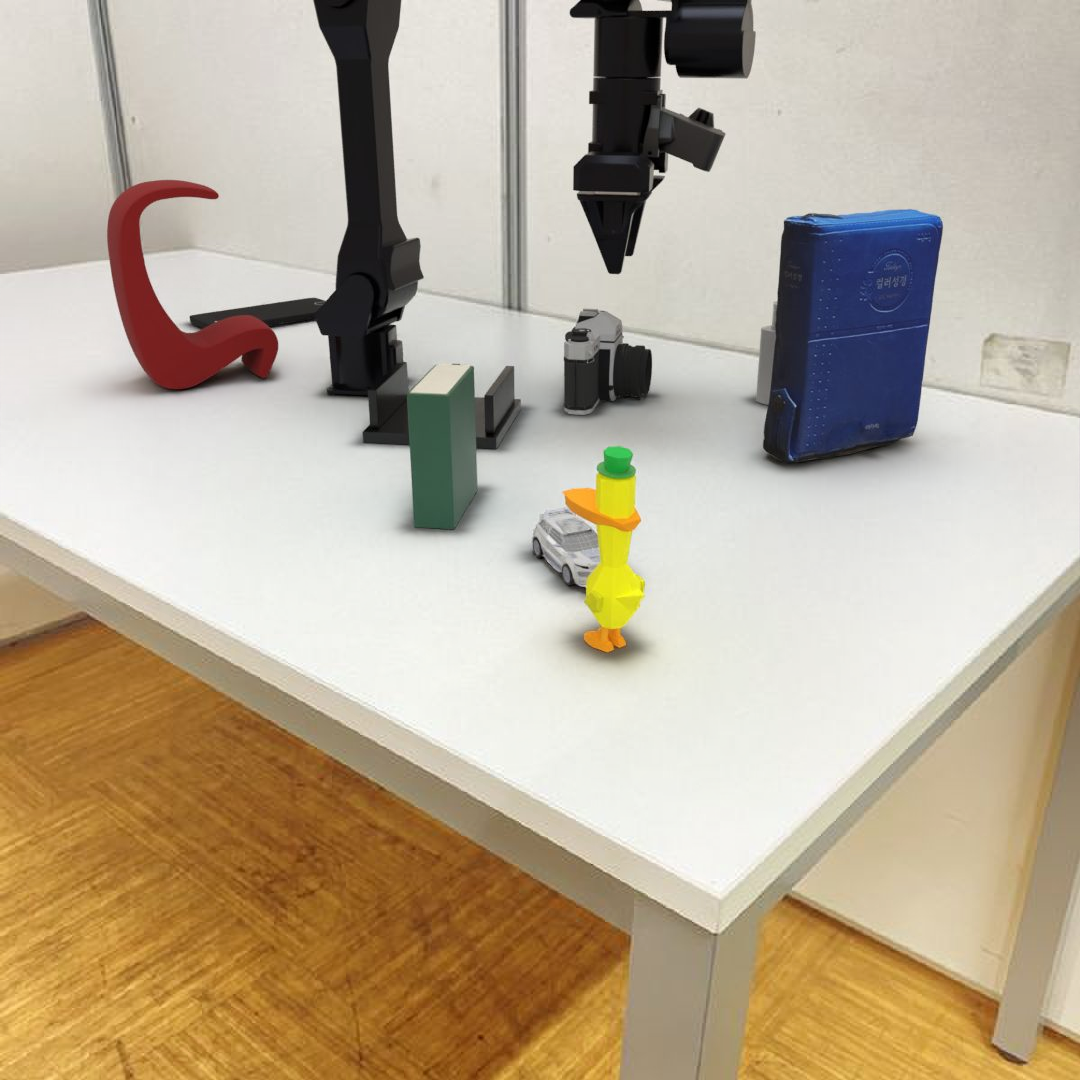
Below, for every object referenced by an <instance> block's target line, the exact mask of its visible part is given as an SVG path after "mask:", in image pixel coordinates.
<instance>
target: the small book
mask: <svg viewBox="0 0 1080 1080" xmlns="http://www.w3.org/2000/svg"><path fill="white" fill-rule="evenodd" d="M475 393H476V392H475V366H474V365H471V364H470V365H469V364H468V365H465V364H460V365H452V364H445V363H443V364H441V363H440V364H439V363H437V364H434V365H433V366H432V367H431V368H430V370H429V371H428V372H426V374H425V375H424V376H423V377H422V378H421V379H420V380H419V381H418V382H417V383H416V384H415V385H414V386H413V387H412V388H411V389H410V390H408V393H407V404H408V423H409V442H410V445H409V456H410V474H411V475H410V477H411V479H410V480H411V495H412V497H411V498H412V513H413V527H414V528H425V529H441V530H442V529H443V530H455V529H456V527H457V525H458V523H459V522H460V520H461V518H462V517H463V515H464V514H465V512H466V510H467V509H468V507H469V505H470V503H471V502H472V500H473V498H474V497H475V495H476V493H477V492H478V461H477V460H478V458H477V448H476V422H475V397H476V394H475Z"/></svg>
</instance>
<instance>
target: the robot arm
mask: <svg viewBox="0 0 1080 1080" xmlns="http://www.w3.org/2000/svg"><path fill="white" fill-rule="evenodd" d="M658 1H660V2H666V3H671V9H670V10H643V5H642V3H641V1H640V0H579V1H577V2H576V3H575V5H573V6H572V7H571V8H570V9H569V16H570V17H571V18H573V19H585V20H586V19H587V20H589V19H590V20H591V19H594V27H593V30H594V32H593V78H592V90H589V91H588V105H592V119H591V120H592V125H591V127H592V128H591V132H592V133H591V141H590V142H588V143H587V153H586V154H584V155H583V156H582V157H581V158H580V159H579V160H578V161H577V163H575V164H574V165H573V167H572V168H573V169H572V170H573V171H572V172H573V177H572V178H573V179H572V190H573V191H575V192H577V193H576V198H577V200H578V201H579V203H580V206H581V207H582V210H583V212H584V215H585V217H586V219H587V222H588V224H589V227H590V229H591V232H592V235H593V237H594V240H595V242H596V244H597V247H598V250H599V252H600V255H601V258H602V261H603V262H604V263H603V264H604V265H605V268H606V270H607V273H608V274H609V275H620V274H621V273H622V272H623V267H624V262H625V257H632V256H633V255H634V254H635V249H636V245H637V240H638V236H639V232H640V228H641V224H642V219H643V215H644V211H645V207H646V205H647V204H646V203H647V200H648V199H649V198H650V197H651V196H652V194H653V191H654V190H655V189H656V188H657V187H658V186H659V185H660V184H661V183H662V182H663V181H664V180H665V178H666V176H665V175H659V174H666V172H668V169H669V168H668V167H669V155H670V156H673V157H675V158H678V159H680V160H683V161H685V162H687V163H689V164H692V167H694V168H696V169H698V170H701V171H703V172H706V173H710V172H711V170H712V168H713V167H714V164H715V162H716V161H715V160H716V159H717V157H718V153H719V151H720V149H721V146H722V144H723V142H724V139H725V137H726V135H727V134H726V132H724V131H723V130H722V129H719V128H716V127H715V116H714V115H715V114H714V113H713V112H711V111H708V110H706V109H704V108H701V107H698V108H696V109H695V110H694V111H693V112H692V113H691V114H689V116H687V115H684V114H682V113H679V112H675V111H673V110H670V109H668V108H666V103H667V101H666V99H667V97H666V96H667V95H666V93H663V92H664V91H663V89H661V82H662V79H661V77H662V57H663V56H662V55H663V53H664V59H665V63H666V65H669V66H675V71H676V74H677V77H678V78H679V79H748V78H749V77H750V74H751V72H752V69H753V62H754V57H755V56H754V55H755V48H756V37H757V36H756V34H757V32H756V31H754V10H753V4H752V0H658ZM312 2H313V5H314V10H315V14H316V19H317V23H318V28H319V30H320V32H321V34H322V36H323V38H324V40H325V42H326V44H327V46H328V49H329V50H330V52H331V54H332V57H333V59H334V62H335V69H336V82H337V92H338V93H337V96H338V97H337V98H338V107H339V108H338V109H339V123H340V131H341V132H340V133H341V134H340V135H341V146H342V147H341V149H342V160H343V161H342V162H343V173H344V175H343V176H344V186H345V187H344V188H345V198H346V199H345V201H346V211H347V213H346V214H347V225H346V228H345V231H344V235H343V237H342V240H341V244H340V247H339V250H338V253H337V259H336V272H335V290H334V291H333V292H332V294H330V296H329V297H328V298H327V299H326V300H325V301H326V302H325V303H324V304H323V305H322V306H321V307H320V308H319V309H318V311H317V312H316V313H315V315H314V317H315V319H314V320H315V322H316V324H317V328H318V330H319V332H320V335H321V336H327V338H328V353H329V362H330V375H331V384H329V386H328V387H326V390H325V391H326V394H329V395H352V396H368V390H369V389H370V388H371V387H372V386H373V385H374V384H375V383H376V382H377V381H379V380H380V379H381V378H382V377H383V376H384V375H385V374H386V373H387V372H388V371H389V370H391V369H392V368H393V367H394V366H395V365H396V364H397V363H398V362H404V347H403V341H402V340H401V339H398V333H397V332H398V331H397V324H394V323H396V322H399V321H400V322H401V320H402V318H403V315H404V312H405V308H406V305H408V304H409V303H410V302H411V301H412V299H414V297H416V294H417V291H418V287H419V281H422V280H423V279H424V278H425V277H424V273H423V272H422V269H421V262H420V257H421V248H422V247H421V239H420V238H419V237H412V238H407V236H406V234H405V232H404V230H403V228H402V226H401V224H400V222H399V217H398V204H397V189H396V188H397V187H396V186H397V185H396V173H395V172H396V171H395V169H396V168H395V153H394V138H393V136H394V135H393V123H392V122H393V121H392V120H393V119H392V103H391V87H390V70H389V61H390V56H391V53H392V50H393V48H394V47H393V46H394V44H395V41H396V37H397V35H398V32H399V28H400V20H401V19H400V18H401V10H402V9H401V8H402V0H312ZM664 19H665V28H664ZM663 32H664V34H663ZM663 35H664V39H663ZM663 51H664V52H663ZM655 171H658V173H659V174H657V175H656V174H655Z"/></svg>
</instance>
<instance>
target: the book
mask: <svg viewBox="0 0 1080 1080" xmlns="http://www.w3.org/2000/svg"><path fill="white" fill-rule="evenodd" d="M943 223H944V222H943V221H942V219H941V216H938V214H932V213H927V212H923V211H920V210H918V209H912V208H907V209H901V208H900V209H886V210H877V211H871V212H854V213H848V214H831V213H815V212H809V213H807V214H804V215H791V216H788V217H786V218H785V219H784V220H783V229H782V230H783V231H782V234H781V238H780V255H779V268H778V269H779V272H778V283H777V300H776V301H777V310H776V323H775V333H776V340H775V347H774V358H773V368H772V379H771V389H770V397H769V403H768V405H767V408H766V409H767V410H766V414H765V420H764V425H763V441H762V449H763V450H764V452H766V453H767V454H769V455H770V456H771V457H774V458H775V459H776V460H777V461H781V462H784V463H799V462H800V463H801V462H806V461H811V460H812V461H813V460H819V459H820V460H821V459H828V458H834V457H840V456H846V455H850V454H855V453H859V452H862V451H866V450H870V449H874V448H879V447H886V446H890V445H892V444H895V443H897V442H899V441H901V440H902V439H907V438H910V437H913V436H914V434H915V431H916V429H917V427H918V421H919V416H920V415H919V414H920V407H921V397H922V388H923V380H924V374H925V373H924V372H925V363H926V354H927V346H928V339H929V333H930V327H931V317H932V312H933V311H932V310H933V302H934V301H933V300H934V291H935V285H936V278H937V277H936V276H937V272H938V266H939V265H938V264H939V258H940V251H941V245H942V239H943V232H944V224H943Z"/></svg>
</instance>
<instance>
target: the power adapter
mask: <svg viewBox="0 0 1080 1080" xmlns="http://www.w3.org/2000/svg"><path fill="white" fill-rule="evenodd" d="M772 304H773V305H772V315H771V316H772V318H771V325H767V326H762V327H761V328H760V339H759V353H758V365H757V366H758V368H757V381H756V394H755V395H756V396H755V402H757V403H760V404H763V405H766V406H768V403H769V397H770V389H771V379H772V368H773V358H774V347H775V340H776V333H775V323H776V310H777V300H775V301H773V303H772Z"/></svg>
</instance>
